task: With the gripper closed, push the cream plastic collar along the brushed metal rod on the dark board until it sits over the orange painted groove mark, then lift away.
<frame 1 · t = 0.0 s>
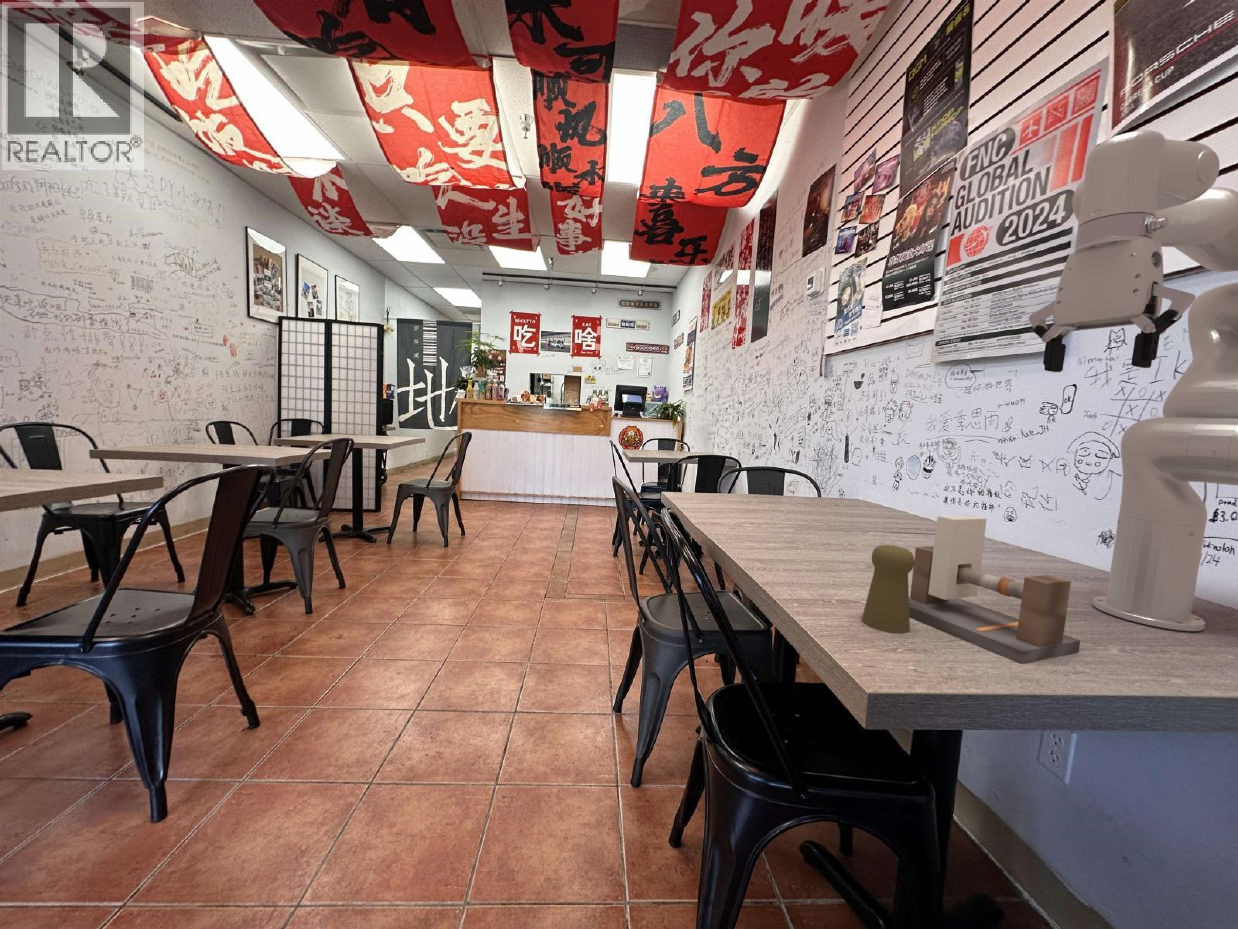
hand: (1094, 369, 71), 37 cm above the table, tool pointing down, fingers open, 9 cm apart
collar: (957, 556, 76), point 9 cm above the table, slide at -4.0 cm
olive green pawn: (885, 625, 73), on the table
rod board: (977, 628, 73), on the table
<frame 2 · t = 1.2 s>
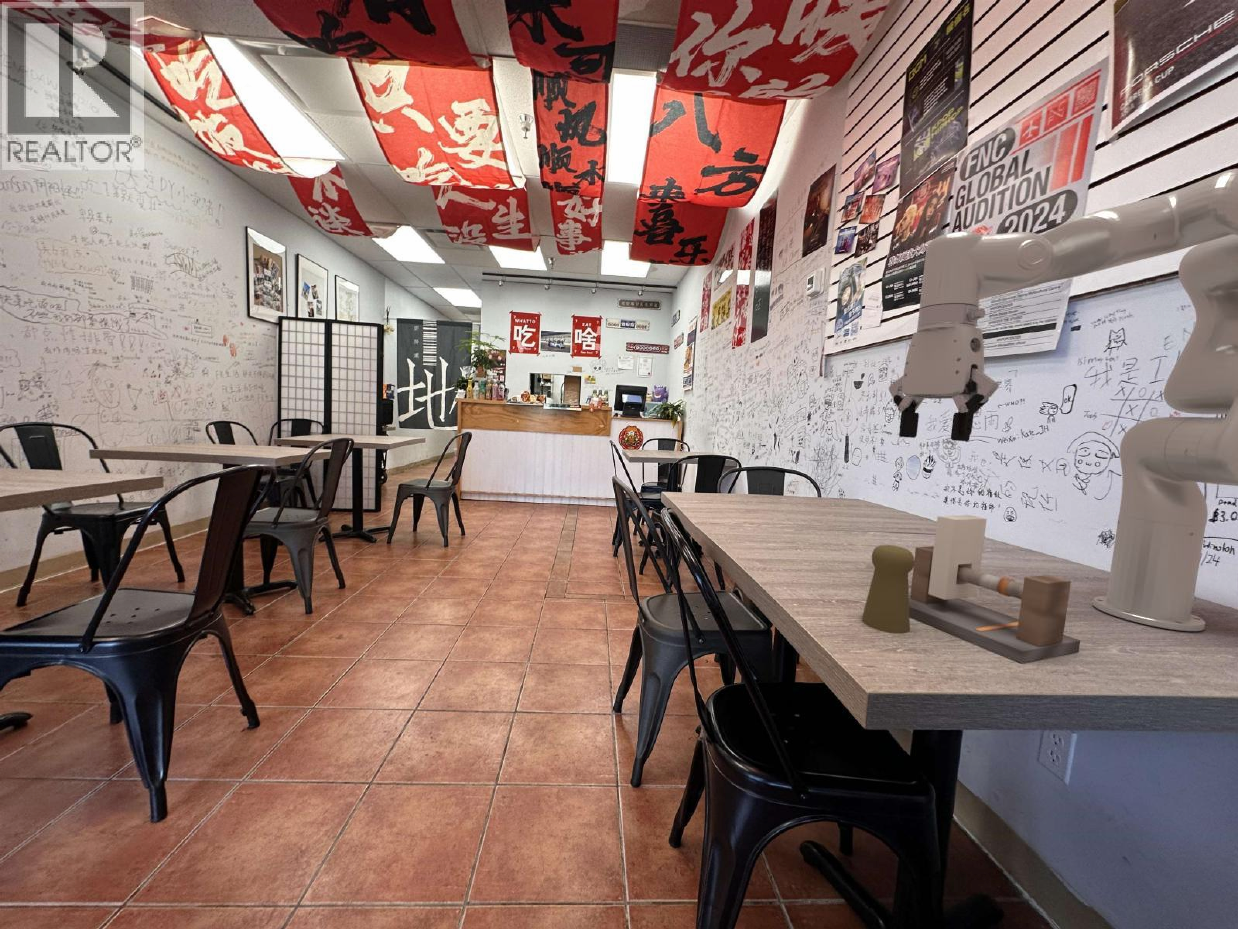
hand: (932, 438, 80), 26 cm above the table, tool pointing down, fingers open, 7 cm apart
nothing on the table moved.
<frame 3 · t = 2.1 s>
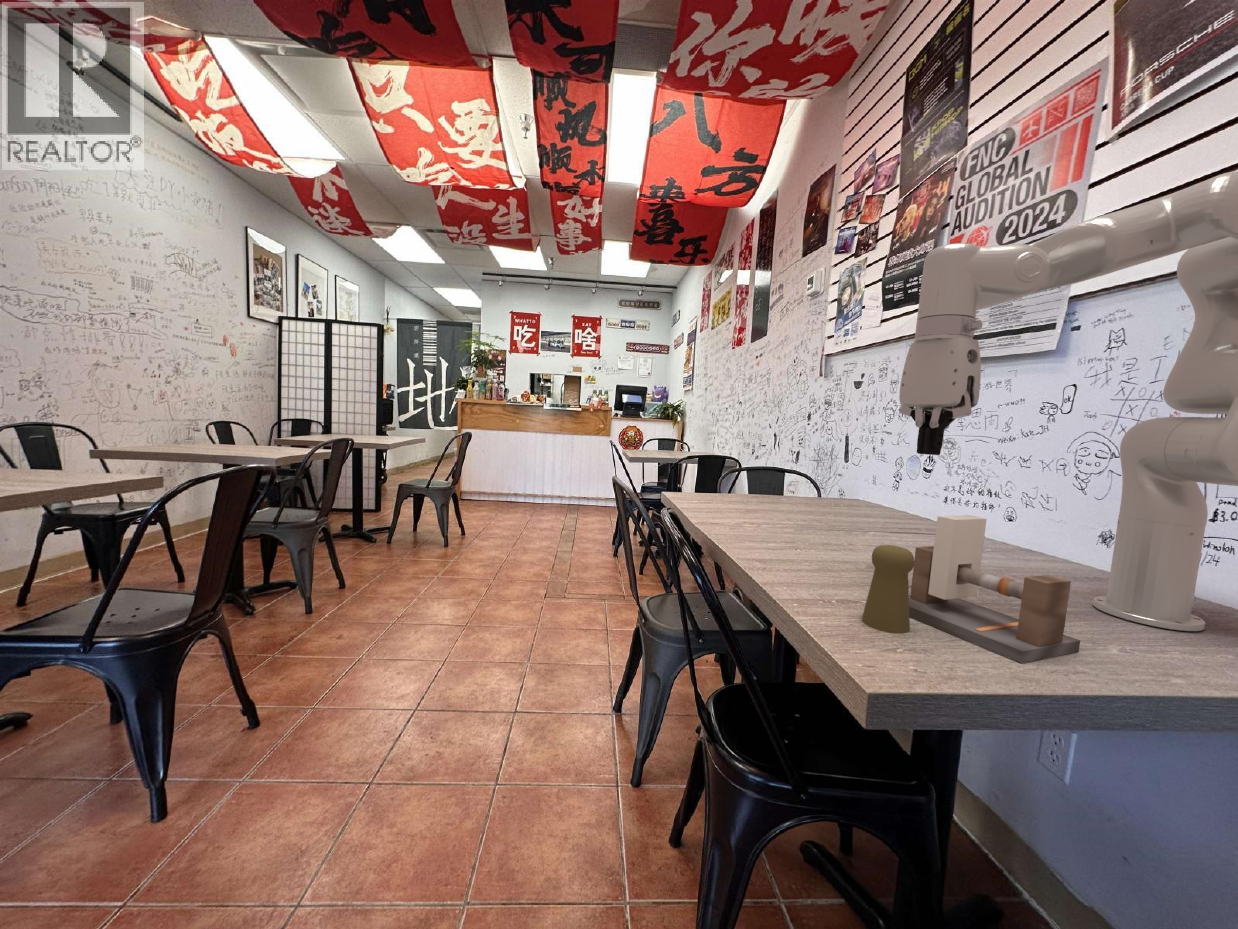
hand: (928, 454, 80), 24 cm above the table, tool pointing down, fingers closed
nothing on the table moved.
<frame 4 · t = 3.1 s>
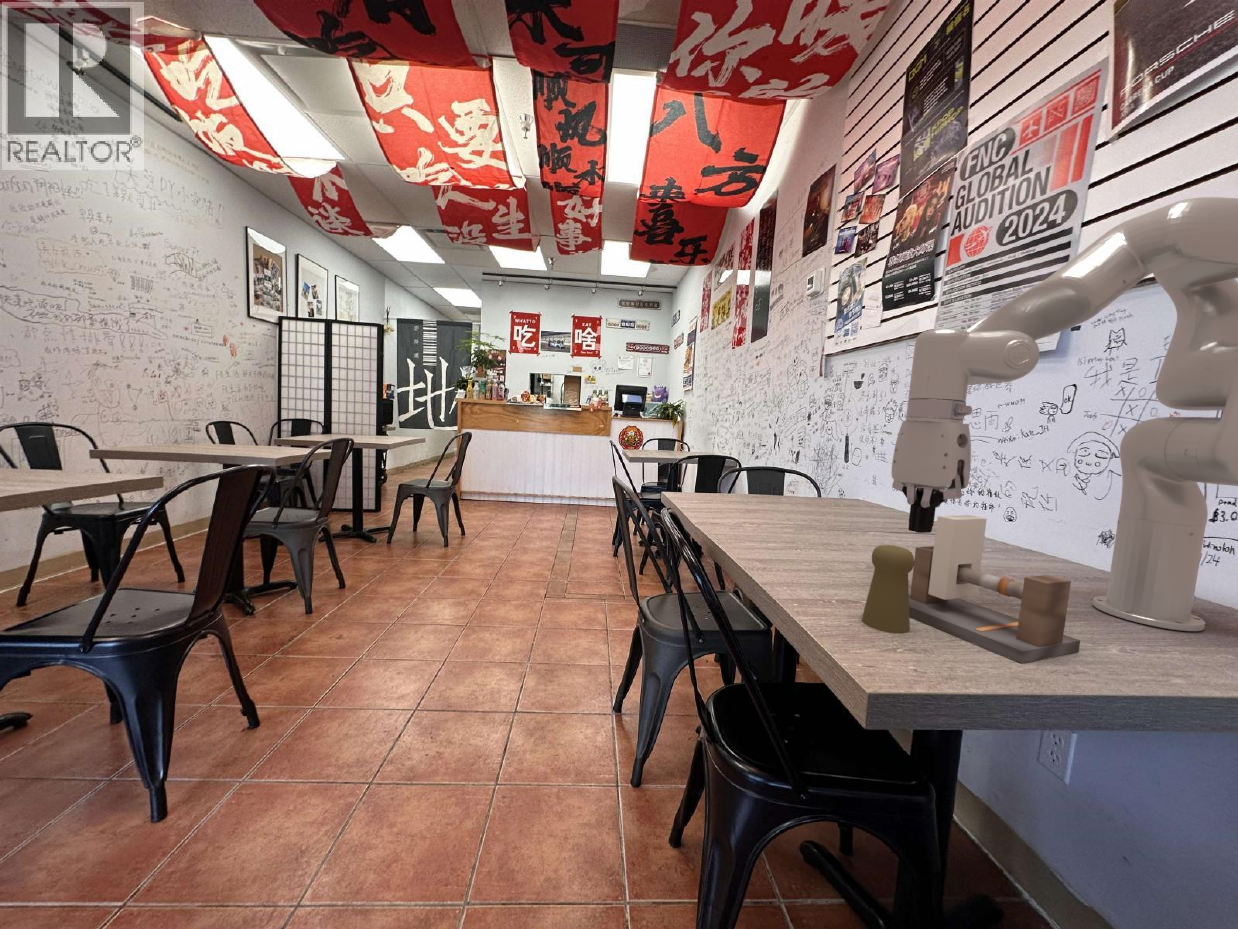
hand: (919, 531, 81), 12 cm above the table, tool pointing down, fingers closed
nothing on the table moved.
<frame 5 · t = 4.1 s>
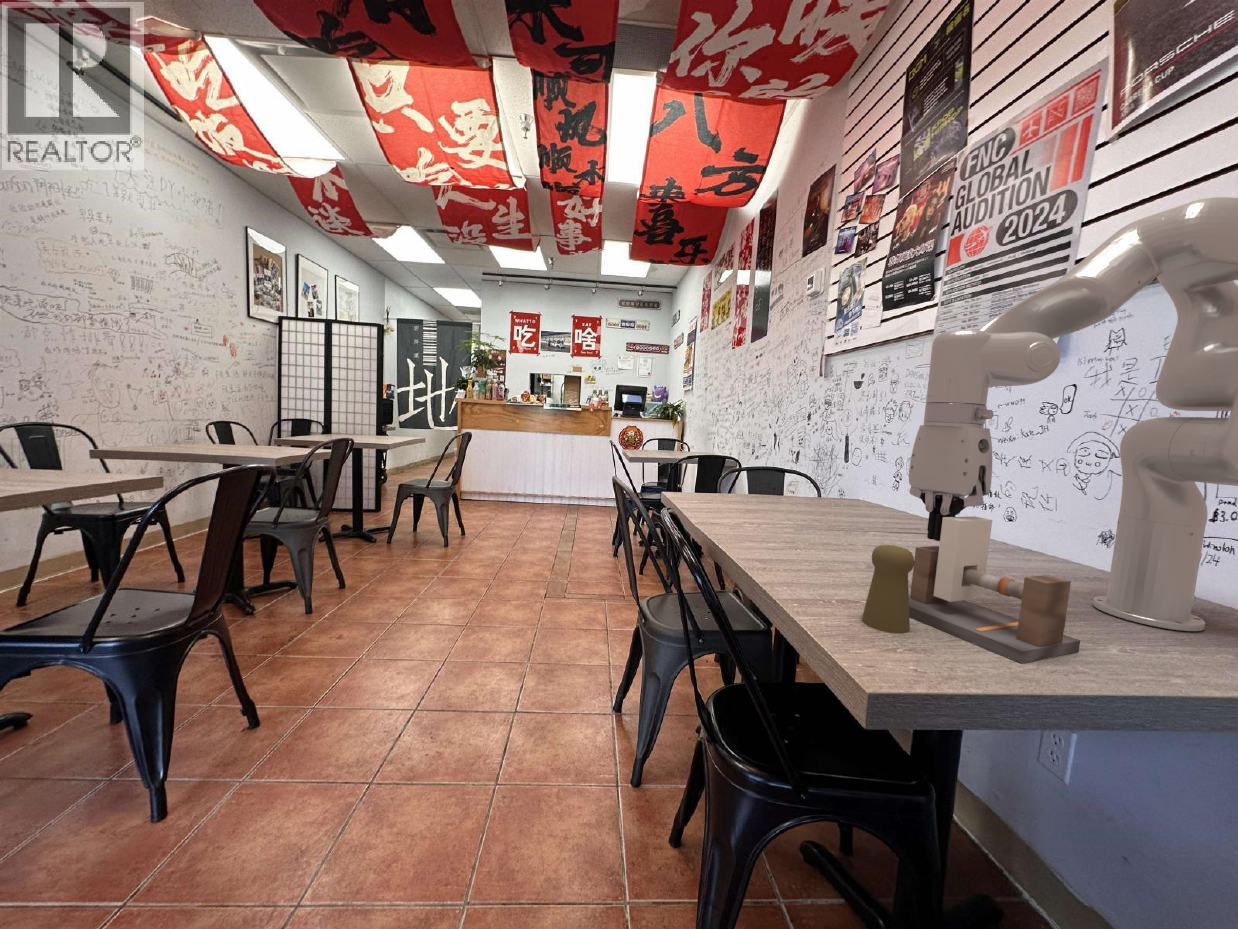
hand: (939, 539, 79), 11 cm above the table, tool pointing down, fingers closed
collar: (962, 558, 75), point 9 cm above the table, slide at -3.2 cm, touching gripper
everything else where it was.
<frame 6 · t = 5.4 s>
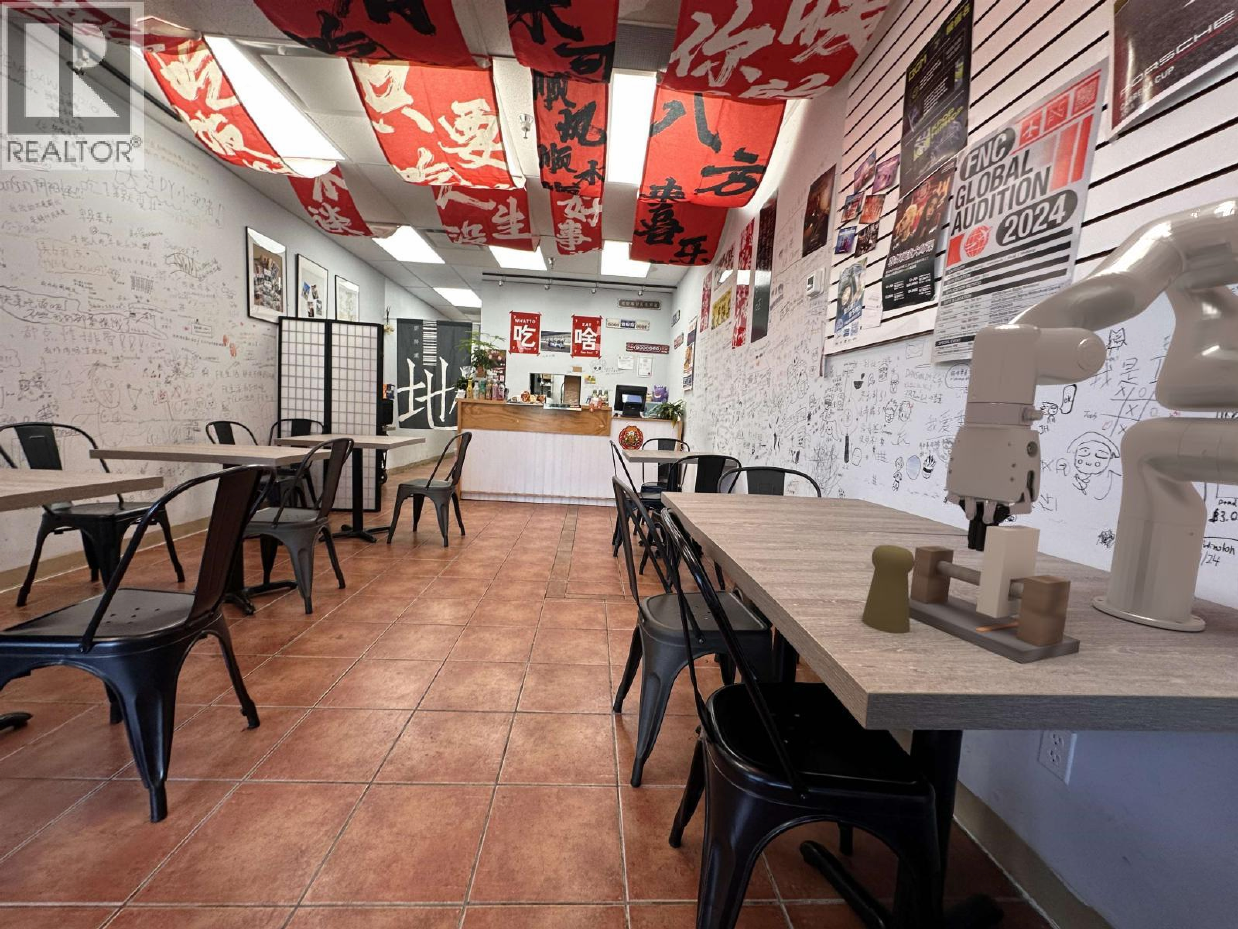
hand: (980, 549, 73), 11 cm above the table, tool pointing down, fingers closed
collar: (1008, 570, 70), point 9 cm above the table, slide at 2.9 cm, touching gripper
everything else where it was.
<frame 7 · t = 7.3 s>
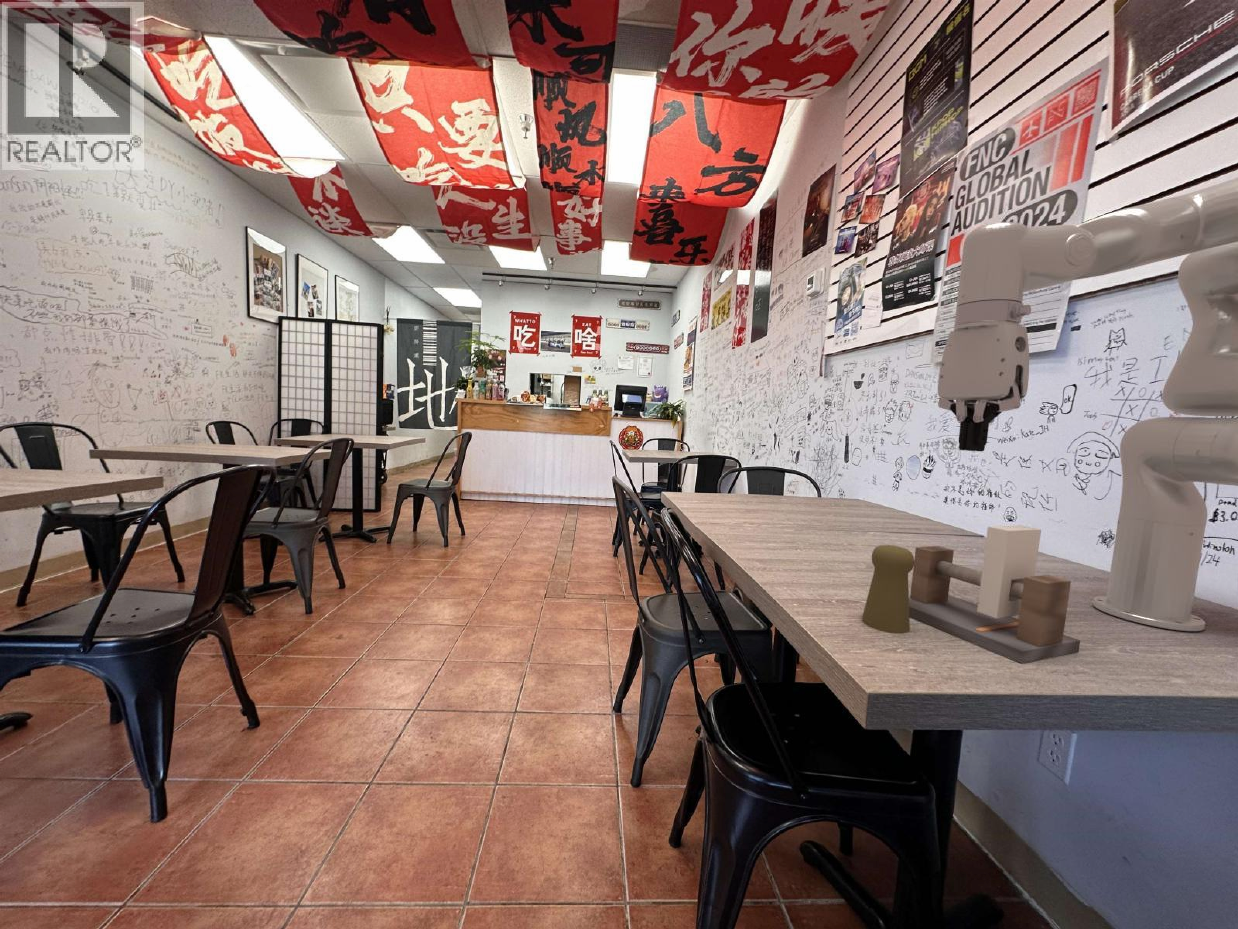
hand: (971, 450, 75), 25 cm above the table, tool pointing down, fingers closed
collar: (1009, 570, 70), point 9 cm above the table, slide at 3.0 cm
everything else where it was.
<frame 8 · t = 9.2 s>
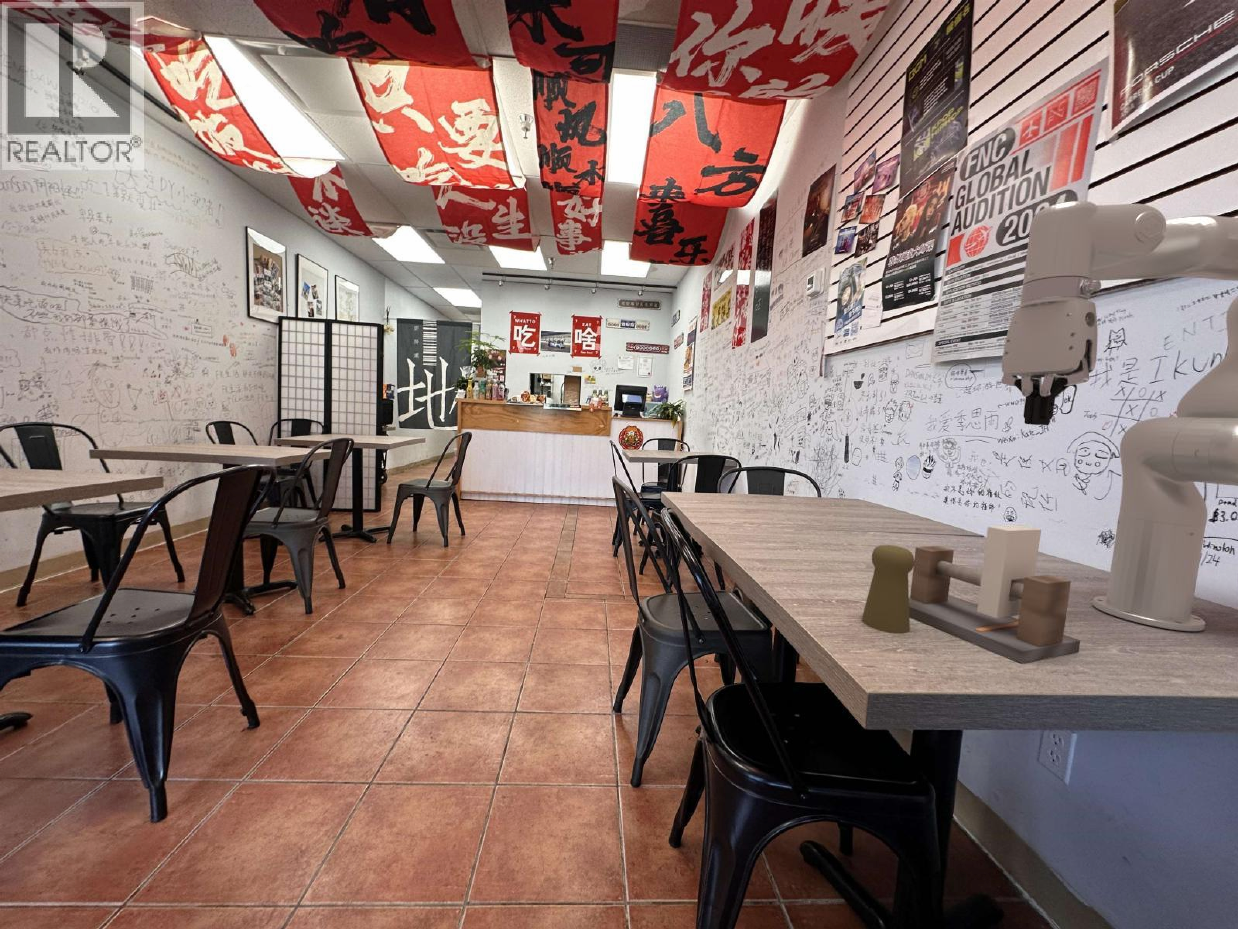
hand: (1036, 424, 77), 29 cm above the table, tool pointing down, fingers closed
nothing on the table moved.
at the end: collar slide at 3.0 cm; olive green pawn moved 0.2 cm from its start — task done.
